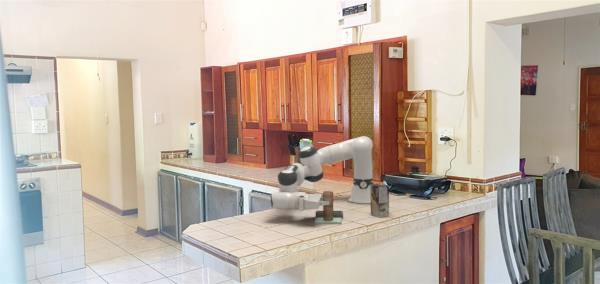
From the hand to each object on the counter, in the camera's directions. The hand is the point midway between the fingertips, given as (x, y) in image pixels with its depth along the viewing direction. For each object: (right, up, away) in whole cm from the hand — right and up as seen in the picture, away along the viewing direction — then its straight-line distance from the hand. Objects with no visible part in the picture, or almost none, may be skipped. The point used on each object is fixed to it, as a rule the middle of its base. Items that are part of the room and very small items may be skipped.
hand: (329, 201), depth 229 cm
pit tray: (0, -10, +10) cm, 14 cm away
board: (-1, -10, +1) cm, 11 cm away
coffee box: (+27, -9, +13) cm, 31 cm away
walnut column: (-1, -9, +1) cm, 9 cm away
